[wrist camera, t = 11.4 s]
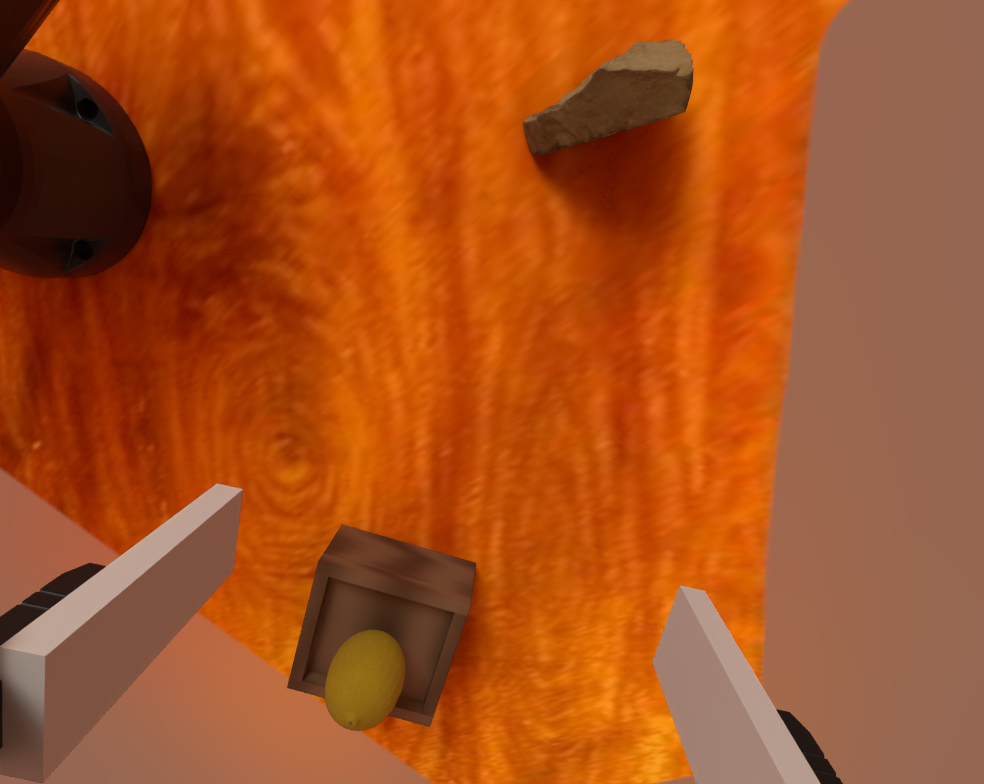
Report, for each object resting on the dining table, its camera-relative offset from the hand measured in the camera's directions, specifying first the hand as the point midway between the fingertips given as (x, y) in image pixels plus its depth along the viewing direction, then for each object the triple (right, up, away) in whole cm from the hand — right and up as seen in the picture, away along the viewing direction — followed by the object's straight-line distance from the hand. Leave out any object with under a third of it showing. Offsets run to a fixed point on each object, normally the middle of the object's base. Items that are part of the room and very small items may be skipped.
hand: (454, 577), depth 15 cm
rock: (+8, +26, +21) cm, 34 cm away
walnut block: (-8, -13, +31) cm, 35 cm away
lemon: (-8, -14, +27) cm, 31 cm away
